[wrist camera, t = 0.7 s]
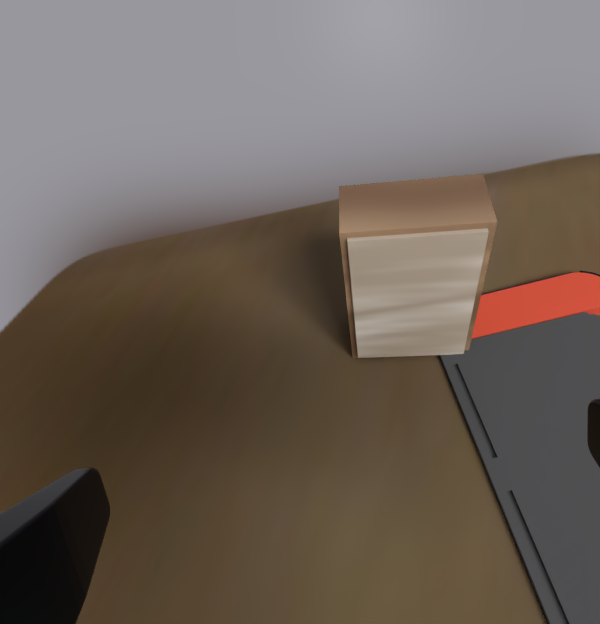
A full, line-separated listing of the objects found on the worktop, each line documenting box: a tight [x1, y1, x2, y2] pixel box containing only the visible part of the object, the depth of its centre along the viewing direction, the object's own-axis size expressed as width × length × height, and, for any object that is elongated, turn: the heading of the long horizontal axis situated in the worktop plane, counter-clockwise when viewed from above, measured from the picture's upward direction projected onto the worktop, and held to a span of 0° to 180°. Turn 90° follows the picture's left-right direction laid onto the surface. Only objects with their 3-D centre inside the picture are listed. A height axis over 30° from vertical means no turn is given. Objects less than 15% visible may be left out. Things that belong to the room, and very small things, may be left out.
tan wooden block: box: [339, 174, 497, 358], centre depth 23 cm, size 3×6×9 cm, turn 87°
